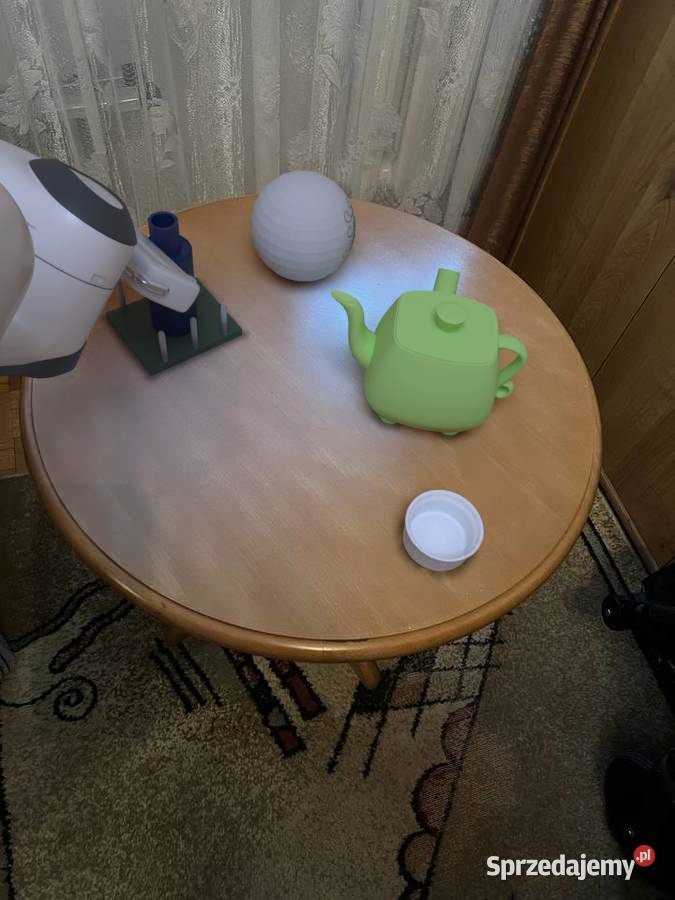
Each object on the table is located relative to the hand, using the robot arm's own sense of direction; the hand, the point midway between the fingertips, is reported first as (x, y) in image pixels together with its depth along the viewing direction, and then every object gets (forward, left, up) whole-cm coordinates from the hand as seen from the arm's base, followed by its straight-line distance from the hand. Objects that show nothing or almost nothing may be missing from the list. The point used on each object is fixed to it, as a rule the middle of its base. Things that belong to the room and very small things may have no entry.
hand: (172, 266), depth 81 cm
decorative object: (+21, +1, -11) cm, 24 cm away
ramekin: (+7, -45, -11) cm, 47 cm away
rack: (-1, 0, -10) cm, 10 cm away
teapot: (+21, -25, -11) cm, 34 cm away
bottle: (-1, 0, -9) cm, 9 cm away
